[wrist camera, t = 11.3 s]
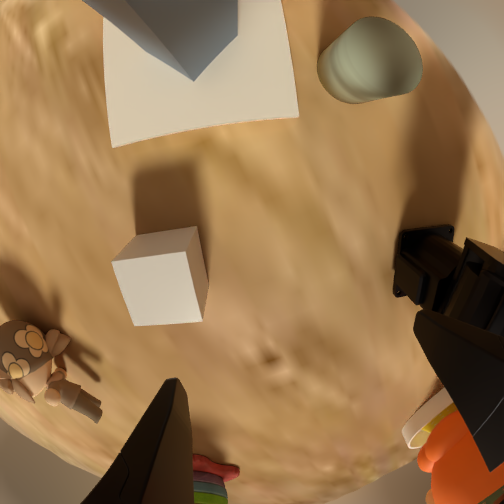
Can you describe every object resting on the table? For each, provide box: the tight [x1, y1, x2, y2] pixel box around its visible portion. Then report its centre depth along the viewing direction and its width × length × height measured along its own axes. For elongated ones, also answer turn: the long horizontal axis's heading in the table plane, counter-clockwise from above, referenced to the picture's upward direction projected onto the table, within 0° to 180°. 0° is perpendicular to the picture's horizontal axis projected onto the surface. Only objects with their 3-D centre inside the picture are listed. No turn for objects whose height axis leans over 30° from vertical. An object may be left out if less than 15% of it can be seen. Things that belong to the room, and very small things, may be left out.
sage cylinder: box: [317, 17, 423, 104], centre depth 14 cm, size 5×5×6 cm
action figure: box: [0, 320, 102, 424], centre depth 22 cm, size 10×11×15 cm
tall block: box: [82, 0, 238, 82], centre depth 8 cm, size 4×4×13 cm
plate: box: [103, 0, 299, 148], centre depth 15 cm, size 13×13×1 cm
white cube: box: [111, 226, 209, 326], centre depth 19 cm, size 5×5×5 cm
